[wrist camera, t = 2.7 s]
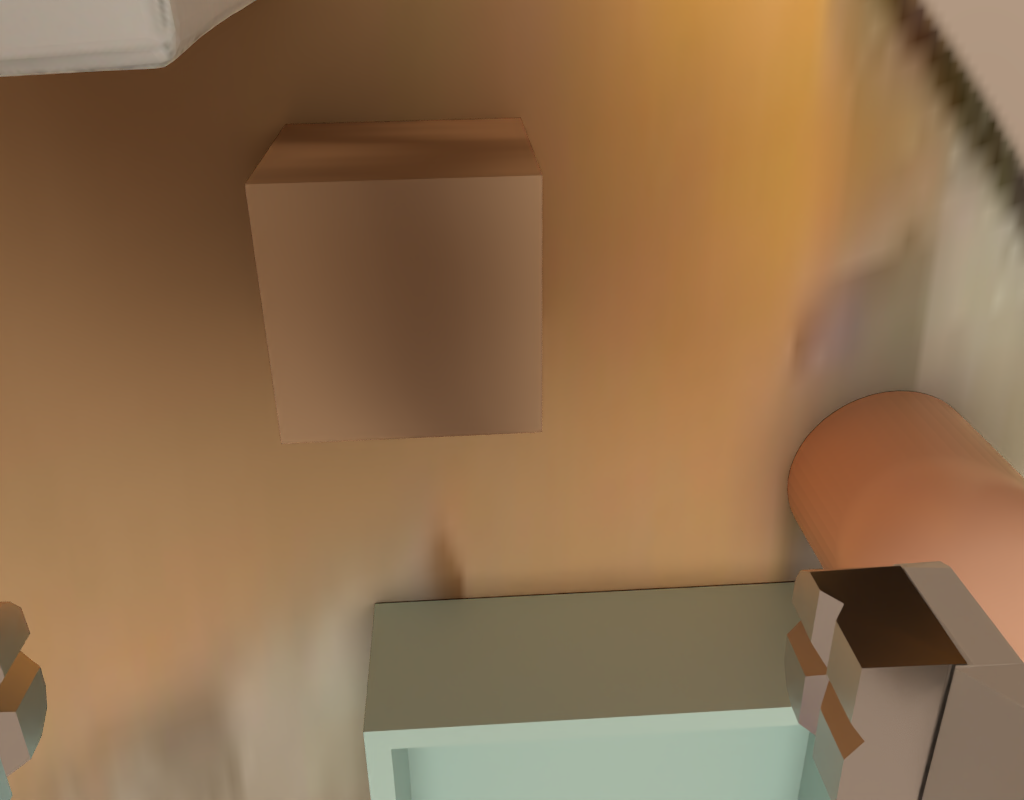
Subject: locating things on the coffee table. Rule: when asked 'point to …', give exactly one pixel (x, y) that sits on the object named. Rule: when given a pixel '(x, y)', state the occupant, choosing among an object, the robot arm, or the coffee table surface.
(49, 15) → the supplement box
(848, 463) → the peach rounded cylinder
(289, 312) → the walnut block
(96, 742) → the coffee table surface
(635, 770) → the tray
